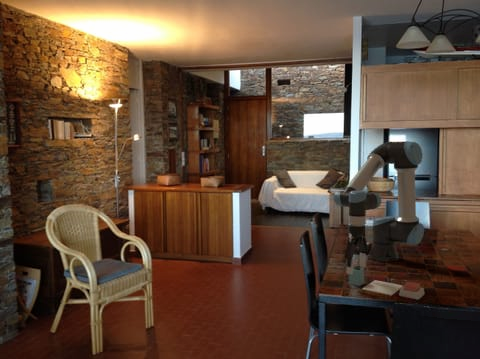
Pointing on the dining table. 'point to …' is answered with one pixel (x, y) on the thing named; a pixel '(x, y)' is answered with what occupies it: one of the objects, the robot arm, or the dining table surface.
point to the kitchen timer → (368, 237)
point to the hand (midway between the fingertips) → (356, 270)
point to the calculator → (359, 249)
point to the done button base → (412, 293)
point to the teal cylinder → (357, 276)
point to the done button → (412, 286)
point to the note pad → (382, 287)
